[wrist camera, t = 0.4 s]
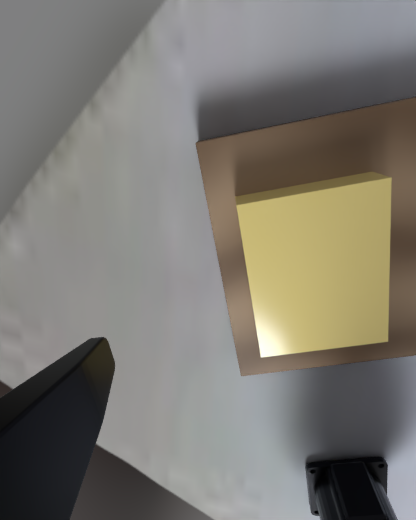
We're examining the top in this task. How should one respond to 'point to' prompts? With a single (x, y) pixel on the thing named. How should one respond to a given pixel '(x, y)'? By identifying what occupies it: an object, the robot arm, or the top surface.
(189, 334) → the top surface
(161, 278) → the top surface
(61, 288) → the top surface
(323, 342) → the butter block
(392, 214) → the cutting block
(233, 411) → the top surface
